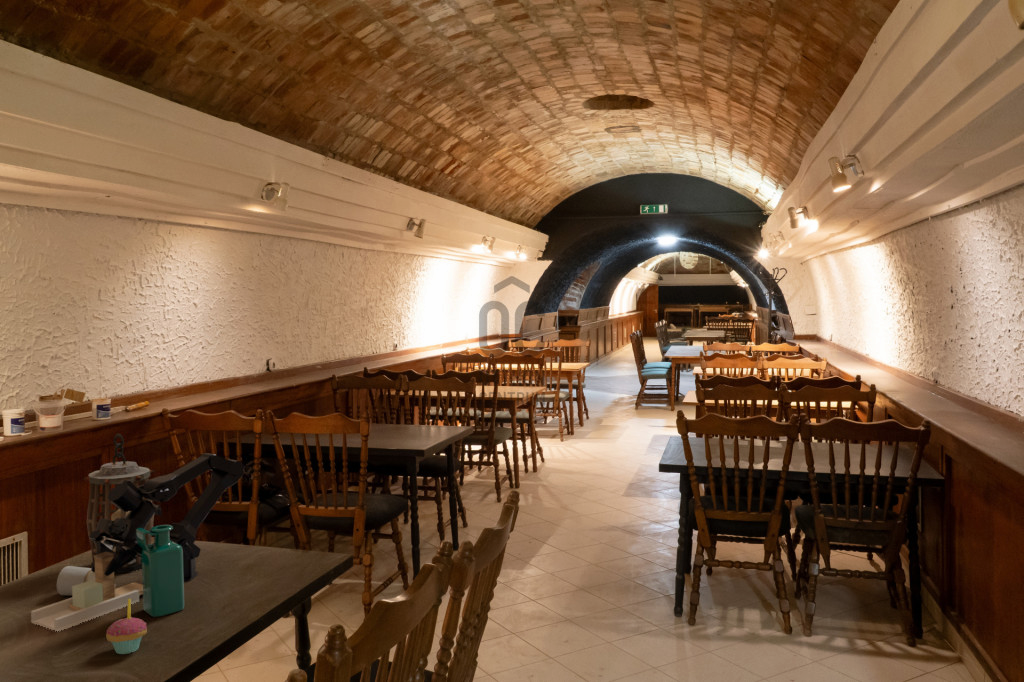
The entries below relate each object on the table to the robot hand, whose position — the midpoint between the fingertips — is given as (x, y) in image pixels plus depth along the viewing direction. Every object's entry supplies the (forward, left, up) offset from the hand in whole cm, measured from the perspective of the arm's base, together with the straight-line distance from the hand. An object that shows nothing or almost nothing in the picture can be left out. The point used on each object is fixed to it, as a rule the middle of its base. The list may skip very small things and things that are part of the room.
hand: (99, 573), depth 210 cm
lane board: (+2, +3, -9) cm, 10 cm away
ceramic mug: (+11, -10, -9) cm, 18 cm away
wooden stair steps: (-1, -3, -8) cm, 9 cm away
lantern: (+11, -32, -9) cm, 35 cm away
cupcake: (-20, +25, -9) cm, 33 cm away
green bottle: (-17, +2, -9) cm, 19 cm away
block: (+2, +3, -7) cm, 8 cm away
